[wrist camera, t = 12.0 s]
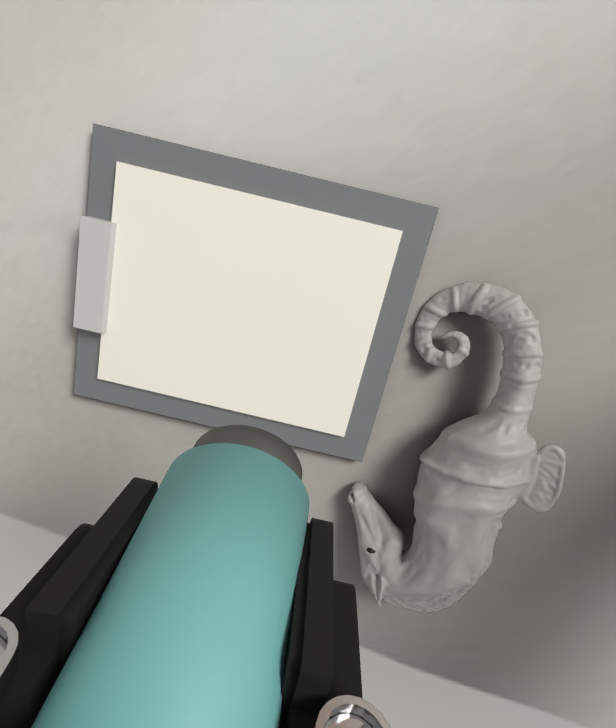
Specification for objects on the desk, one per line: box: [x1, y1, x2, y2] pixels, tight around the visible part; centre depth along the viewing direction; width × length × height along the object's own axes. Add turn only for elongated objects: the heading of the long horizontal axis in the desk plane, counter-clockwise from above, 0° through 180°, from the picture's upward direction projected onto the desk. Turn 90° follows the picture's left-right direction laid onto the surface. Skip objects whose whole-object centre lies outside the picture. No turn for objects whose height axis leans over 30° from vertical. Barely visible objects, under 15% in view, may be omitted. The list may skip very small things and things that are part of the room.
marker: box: [31, 425, 309, 728], centre depth 7 cm, size 4×4×10 cm
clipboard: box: [73, 123, 439, 462], centre depth 24 cm, size 18×15×2 cm
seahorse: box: [348, 282, 566, 613], centre depth 24 cm, size 5×12×20 cm
